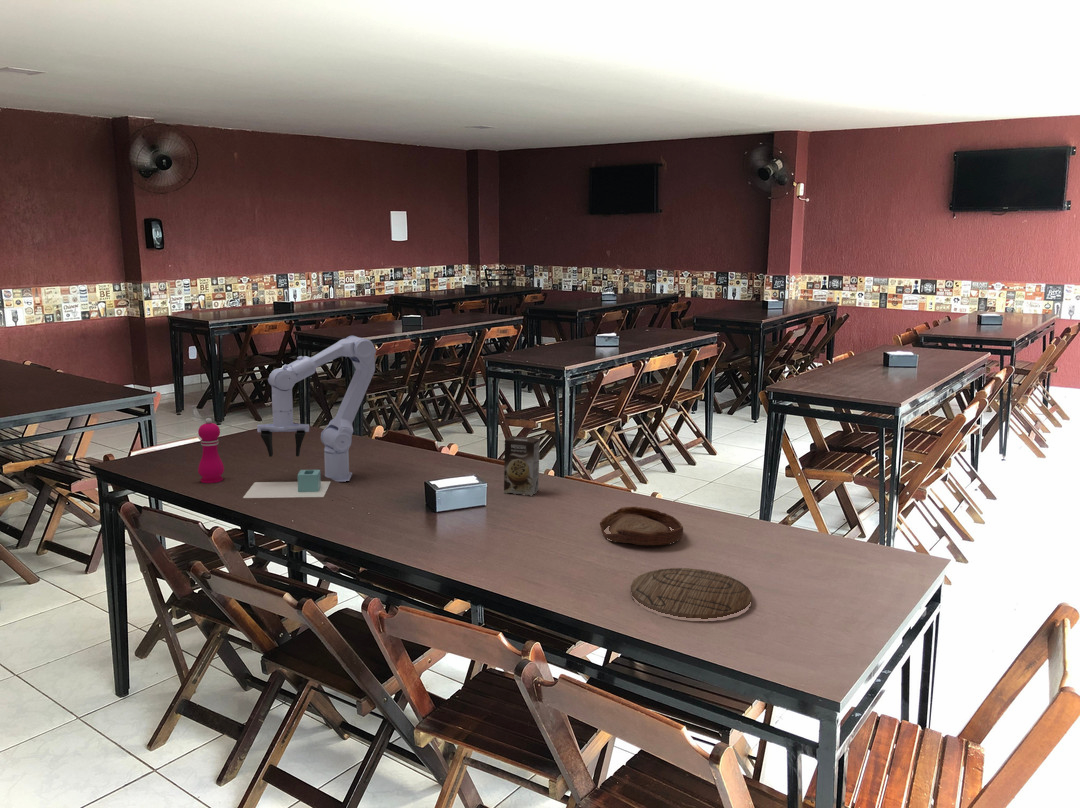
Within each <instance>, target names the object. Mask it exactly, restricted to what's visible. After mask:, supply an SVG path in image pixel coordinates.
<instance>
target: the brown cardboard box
mask: <svg viewBox="0 0 1080 808" xmlns="http://www.w3.org/2000/svg"><path fill="white" fill-rule="evenodd" d="M540 444H541V438H537V437H536V438H535V437H527V436H515V435H511V436H509V437H507V438H505V439H504V459H503V460H504V461H503V463H504V464H503V465H504V466H503V469H504V470H503V472H504V473H503V474H504V475H503V494H507V493H514V494H513V495H516V494H525V495H533V494H535V493H536V492H537V491H538V490H539V479H540V474H539V473H540ZM539 491H540V490H539ZM539 491H538V492H539ZM538 492H537V493H538ZM537 493H536V494H537ZM536 494H535V495H536ZM525 495H524V496H525ZM533 496H534V495H533Z"/></svg>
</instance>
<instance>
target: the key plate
mask: <svg viewBox="0 0 1080 808" xmlns="http://www.w3.org/2000/svg"><path fill="white" fill-rule="evenodd" d="M331 482H332V481H331V480H330V481H322V480H321V487H320V489H319V491H318V492H298V481H266V482H265V481H263V482H262V481H259V482H258V481H256V482H253V484H252V485H251V486H250V488H249V489H248V490H247V492H245V494H244V495H243V497H242V499H271V498H273V499H274V498H279V499H280V498H283V499H284V498H324V497H325V495H326V493H327V491H328V488H329V486H330V484H331Z"/></svg>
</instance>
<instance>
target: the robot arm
mask: <svg viewBox="0 0 1080 808" xmlns="http://www.w3.org/2000/svg"><path fill="white" fill-rule="evenodd" d="M376 352H377V350H376V348H375V346H374V343H373V342H372V340H370V339H368V338H365V337H364V338H363V337H358V336H357V335H349V336H347V337H346V338H342V339H340V340H338V341H337V342H335V343H333V344H332V345H330V346H328V347H327V348H325V349H323V350H321V351H320V352H318V353H317V354H314V355H313V356H311V357H309V356H306V355H304V356H302V355H300V356H297V357H296V359H295V360H294V361H292V362H290V363H289V364H284V365H282V368H279V367H278V368H275V369H273V370H272V371H271V373H269V375H268V378H267V382H268V384H269V385H270V386H271V406H272V407H271V408H272V409H271V410H272V423H266V424H265V423H264V424H257V425H256V429H257V433H260V437H261V439H262V441H263V443H264V444H265V447H266V449H267V452H268V457H271V458H272V457H273V456H274V452H273V451H274V449H273V433H275V432H277V433H278V432H283V433H284V432H289V433H291V432H293V433H294V432H295V433H294V437H295V456H296V457H299V456H300V453H301V447H302V443H303V441H304V438H305V435H306V433H309V432H310V424H309V423H307V424H306V423H296V422H295V423H294V409H293V408H294V406H293V405H294V403H293V402H294V401H293V388H294V387H295V384H296V383H298V382H301V381H302V380H304V379H306V378H308V377H310V376H312V375H314V374H315V373H316V370H317V368H319V367H321V366H323V365H324V364H327V363H329V362H331V361H333V360H336V359H337V358H341V357H347V358H349V359H350V360H351V362H352V364H353V367H354V368H355V371H354V373H353V376H352V378H351V380H350V382H349V385H348V387H347V390H346V392H345V394H344V396H343V398H342V400H341V403H340V405H339V408H338V410H337V412H336V415H335V417H333V418H332V419H330V421H329V423H328V425H327V426H326V427H325V428H323V430H322V431H321V433H320V441H321V443H322V444H323V445H324V449H323V452H324V453H323V455H324V457H323V458H324V477H326V478H327V479H330V480H333V481H335V482H337V483H342V482H343V483H344V482H346V481H349V482H350V481H351V478H352V476H353V472H351V471H350V460H349V459H350V457H349V455H350V454H349V449H350V448H351V445H352V443H353V442H352V441H353V440H352V439H353V438H352V437H353V434H354V427H353V422H354V420H355V418H356V416H357V413H358V411H359V408H360V406H361V405H362V402H363V400H364V398H365V395H366V392H367V390H368V389H369V388H368V387H370V384H371V380H372V379H373V376H374V374H375V371H376V360H375V359H376V358H375V355H376ZM346 483H347V482H346Z"/></svg>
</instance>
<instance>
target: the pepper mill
mask: <svg viewBox="0 0 1080 808" xmlns="http://www.w3.org/2000/svg"><path fill="white" fill-rule="evenodd" d="M197 431H198V433H197V434H198V437H199V438H201V439H200V445H201V446H202V455H201V458H200V461H199V464H198V468H197V472H198V475H200V477H201V478H200V479H199V480H200V482H201V483H203V484H204V483H205V484H214V483H220V482H222V481H223V479H224V478H223V476H222V475H223V473H224V472H225V466H224V463H223V461H222V459H221V457H220V455H219V450H218V445H219V444H220V442H219V437H220V434H221V429H220V427H219V425H217V424H216V423H214V422H213V419H212V418H210V417H207V418H206V419H205V423H203V424H201V425H200V426H199V428H198V429H197Z"/></svg>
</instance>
